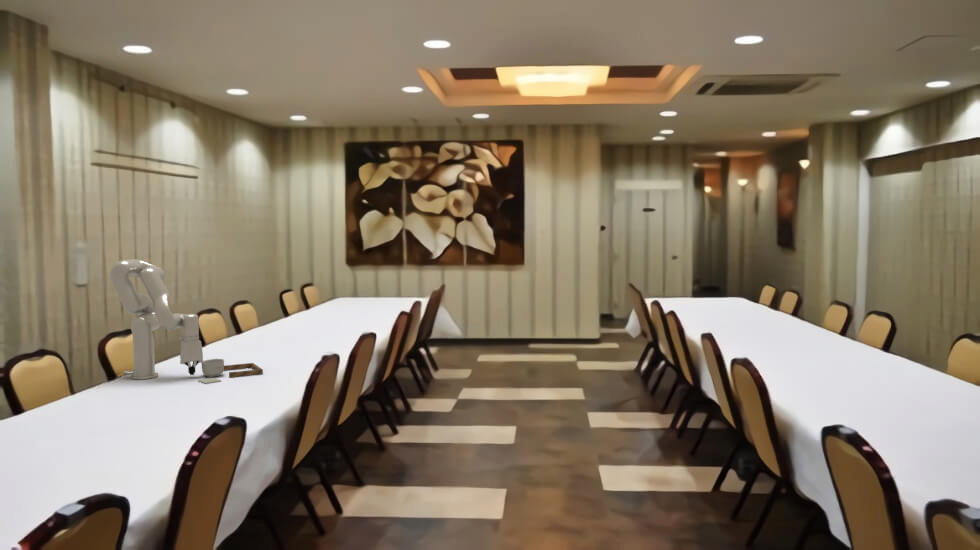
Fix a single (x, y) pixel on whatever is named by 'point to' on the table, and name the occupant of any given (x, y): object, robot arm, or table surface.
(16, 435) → the table surface
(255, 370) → the bay
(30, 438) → the table surface
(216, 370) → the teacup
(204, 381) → the coaster
